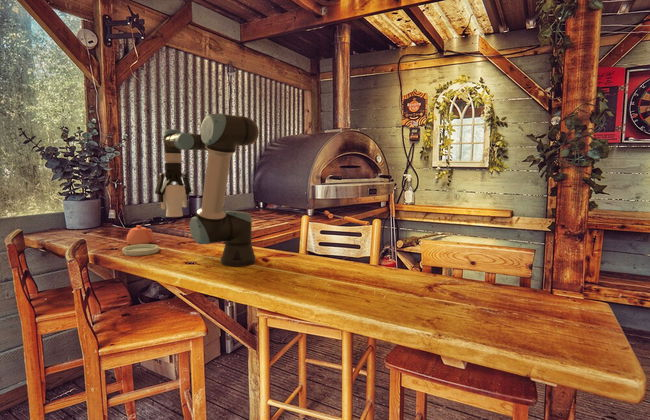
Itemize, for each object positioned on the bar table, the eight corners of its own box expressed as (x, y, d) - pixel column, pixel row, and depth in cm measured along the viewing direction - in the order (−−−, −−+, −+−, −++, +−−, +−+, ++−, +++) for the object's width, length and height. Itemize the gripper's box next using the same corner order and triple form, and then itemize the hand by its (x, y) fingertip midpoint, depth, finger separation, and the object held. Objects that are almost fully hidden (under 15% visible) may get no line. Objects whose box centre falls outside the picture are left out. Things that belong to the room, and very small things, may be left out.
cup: (189, 215, 196) (189, 184, 194) (179, 217, 185) (178, 186, 183) (169, 214, 197) (168, 184, 195) (158, 217, 186) (157, 185, 184)
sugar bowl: (134, 241, 216) (133, 223, 215) (159, 242, 215) (158, 224, 214) (121, 246, 204) (120, 227, 202) (148, 247, 203) (147, 227, 202)
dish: (165, 251, 194) (164, 247, 193) (132, 257, 181) (132, 252, 181) (148, 246, 203) (147, 242, 203) (116, 252, 191) (116, 247, 190)
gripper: (189, 162, 199) (190, 205, 202) (145, 161, 181) (147, 209, 184) (198, 162, 195) (199, 206, 197) (154, 162, 176) (155, 210, 179)
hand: (174, 208), depth 190 cm, fingers closed on cup, 11 cm apart
